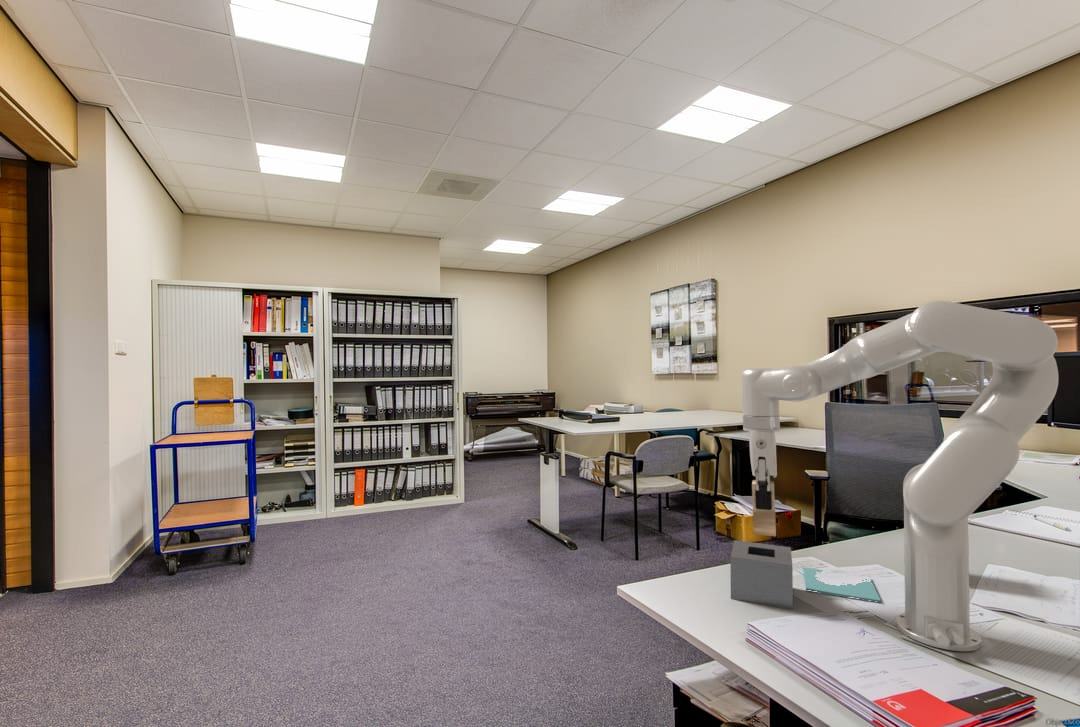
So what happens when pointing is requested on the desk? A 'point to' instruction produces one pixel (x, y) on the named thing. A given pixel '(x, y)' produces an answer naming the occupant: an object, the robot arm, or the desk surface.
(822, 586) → the teal mat
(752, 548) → the grey block with hole
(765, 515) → the oak plug
